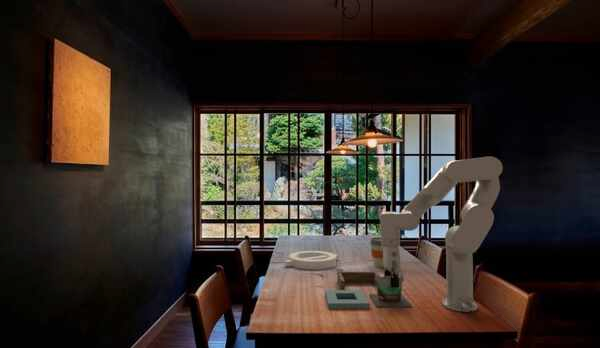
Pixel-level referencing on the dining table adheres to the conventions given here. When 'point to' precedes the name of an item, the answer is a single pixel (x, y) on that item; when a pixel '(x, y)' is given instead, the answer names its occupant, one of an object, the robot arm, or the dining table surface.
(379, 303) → the charcoal mat
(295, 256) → the ring with crossbar
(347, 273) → the walnut cubby
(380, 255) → the reusable coffee cup
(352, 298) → the hole plate
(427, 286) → the dining table surface
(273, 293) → the dining table surface
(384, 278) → the food container
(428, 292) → the dining table surface
